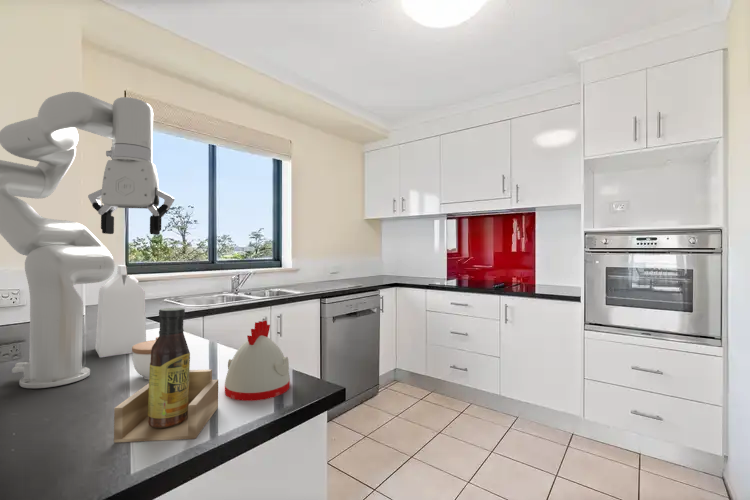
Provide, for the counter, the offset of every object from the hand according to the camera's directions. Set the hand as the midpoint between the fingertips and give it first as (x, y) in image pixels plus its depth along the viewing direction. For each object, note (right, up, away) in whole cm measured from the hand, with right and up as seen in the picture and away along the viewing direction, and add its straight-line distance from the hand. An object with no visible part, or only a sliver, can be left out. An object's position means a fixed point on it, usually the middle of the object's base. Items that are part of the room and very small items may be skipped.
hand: (131, 234), depth 82 cm
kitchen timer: (+28, -35, +1) cm, 45 cm away
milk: (-24, -35, +32) cm, 53 cm away
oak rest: (+18, -34, -16) cm, 42 cm away
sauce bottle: (+18, -34, -17) cm, 42 cm away
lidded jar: (+1, -35, +9) cm, 36 cm away
